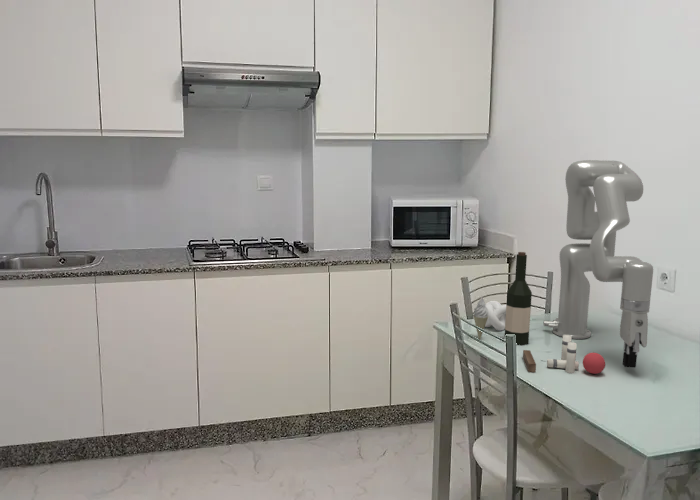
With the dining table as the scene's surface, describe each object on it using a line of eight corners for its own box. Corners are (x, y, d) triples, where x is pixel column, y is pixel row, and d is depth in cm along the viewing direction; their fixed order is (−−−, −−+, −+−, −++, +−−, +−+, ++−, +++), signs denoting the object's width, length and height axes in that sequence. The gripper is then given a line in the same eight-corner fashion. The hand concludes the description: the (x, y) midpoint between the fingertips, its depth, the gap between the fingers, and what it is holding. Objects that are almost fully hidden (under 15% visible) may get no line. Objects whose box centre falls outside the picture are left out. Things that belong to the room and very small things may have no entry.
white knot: (505, 322, 222) (506, 298, 220) (518, 332, 210) (520, 307, 209) (476, 323, 220) (477, 299, 219) (487, 333, 209) (489, 308, 207)
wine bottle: (500, 337, 204) (505, 250, 198) (523, 337, 204) (529, 250, 199) (508, 345, 195) (513, 254, 190) (533, 345, 196) (539, 254, 191)
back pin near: (566, 373, 172) (568, 344, 171) (564, 369, 175) (566, 341, 173) (575, 373, 172) (577, 345, 170) (573, 370, 174) (575, 342, 173)
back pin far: (561, 364, 179) (563, 337, 178) (560, 361, 181) (562, 334, 180) (570, 364, 179) (572, 337, 177) (568, 362, 181) (570, 334, 180)
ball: (594, 363, 167) (612, 367, 168) (587, 346, 171) (605, 350, 173) (581, 375, 171) (599, 379, 172) (575, 358, 175) (593, 362, 177)
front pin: (577, 370, 176) (546, 367, 177) (577, 362, 176) (546, 359, 178) (578, 369, 173) (548, 366, 175) (578, 360, 174) (548, 357, 176)
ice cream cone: (488, 337, 203) (490, 294, 200) (486, 342, 198) (488, 298, 196) (473, 336, 205) (475, 293, 202) (470, 340, 200) (473, 296, 197)
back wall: (528, 372, 172) (528, 363, 172) (522, 357, 184) (523, 350, 184) (535, 372, 172) (536, 364, 172) (529, 358, 184) (530, 350, 183)
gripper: (658, 312, 163) (651, 376, 166) (640, 299, 178) (634, 358, 181) (629, 311, 164) (622, 375, 167) (613, 297, 179) (608, 356, 182)
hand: (629, 366), depth 174 cm, fingers closed
